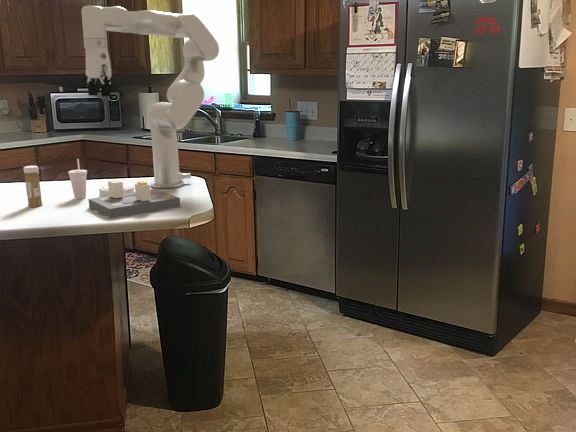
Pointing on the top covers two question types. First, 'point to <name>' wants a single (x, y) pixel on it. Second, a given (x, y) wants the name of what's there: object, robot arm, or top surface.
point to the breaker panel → (133, 204)
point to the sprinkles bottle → (32, 186)
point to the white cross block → (105, 190)
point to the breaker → (115, 189)
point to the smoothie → (78, 182)
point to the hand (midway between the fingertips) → (99, 95)
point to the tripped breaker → (142, 191)
